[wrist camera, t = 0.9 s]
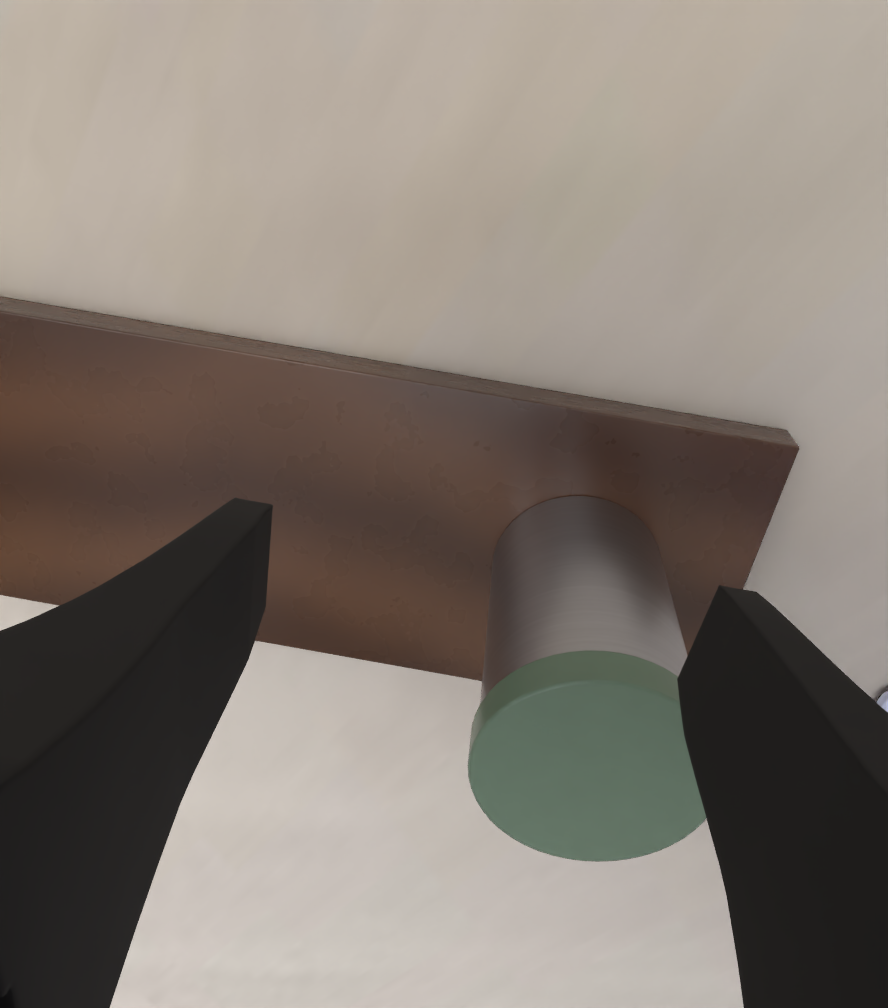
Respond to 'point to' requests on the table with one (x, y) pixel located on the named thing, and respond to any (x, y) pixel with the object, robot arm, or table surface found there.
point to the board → (344, 478)
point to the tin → (582, 689)
